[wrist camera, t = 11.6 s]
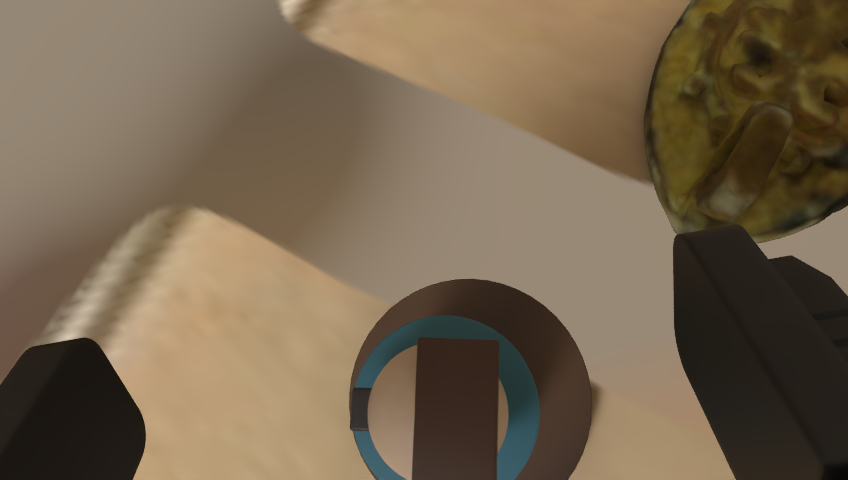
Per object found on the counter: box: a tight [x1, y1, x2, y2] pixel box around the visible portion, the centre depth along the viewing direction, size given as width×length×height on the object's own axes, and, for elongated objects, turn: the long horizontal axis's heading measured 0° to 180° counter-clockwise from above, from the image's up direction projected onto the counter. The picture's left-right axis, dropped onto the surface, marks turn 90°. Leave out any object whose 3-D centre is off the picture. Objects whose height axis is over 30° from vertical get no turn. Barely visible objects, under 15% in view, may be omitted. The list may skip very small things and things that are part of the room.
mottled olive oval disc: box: [644, 0, 848, 243], centre depth 24 cm, size 9×5×15 cm
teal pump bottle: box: [350, 315, 540, 480], centre depth 18 cm, size 5×4×11 cm
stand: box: [349, 279, 592, 480], centre depth 25 cm, size 9×9×2 cm
